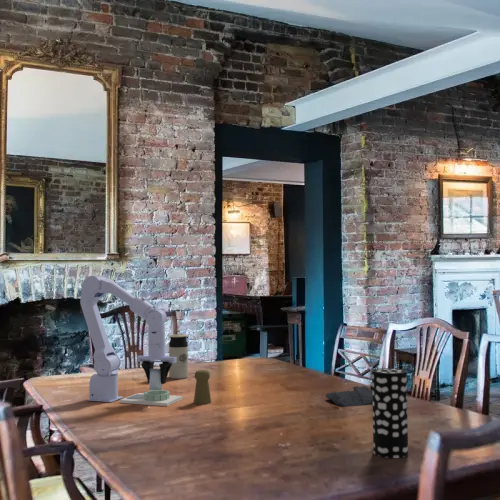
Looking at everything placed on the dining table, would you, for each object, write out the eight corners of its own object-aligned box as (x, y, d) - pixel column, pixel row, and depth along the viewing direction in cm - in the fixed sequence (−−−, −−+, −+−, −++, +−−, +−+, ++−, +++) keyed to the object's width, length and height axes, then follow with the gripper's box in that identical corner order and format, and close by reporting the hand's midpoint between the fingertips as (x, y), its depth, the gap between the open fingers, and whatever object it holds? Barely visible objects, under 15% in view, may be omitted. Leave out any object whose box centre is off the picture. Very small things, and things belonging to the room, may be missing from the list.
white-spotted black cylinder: (369, 448, 152) (367, 368, 153) (401, 447, 153) (400, 367, 153) (379, 458, 144) (377, 374, 144) (413, 457, 144) (411, 373, 145)
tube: (146, 389, 208) (146, 369, 209) (153, 388, 213) (154, 368, 214) (158, 390, 207) (159, 369, 208) (165, 389, 211) (166, 368, 212)
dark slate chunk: (320, 399, 213) (320, 386, 213) (375, 395, 220) (375, 381, 220) (340, 408, 198) (340, 394, 198) (399, 403, 205) (398, 389, 205)
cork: (208, 404, 204) (208, 371, 205) (191, 404, 205) (191, 371, 206) (213, 400, 210) (213, 369, 211) (196, 400, 211) (196, 368, 212)
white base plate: (120, 402, 208) (120, 394, 209) (137, 395, 220) (137, 387, 220) (166, 406, 202) (166, 397, 203) (182, 399, 214) (182, 390, 214)
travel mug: (166, 376, 259) (166, 334, 260) (184, 375, 263) (184, 333, 263) (172, 379, 252) (172, 336, 253) (190, 378, 256) (190, 335, 256)
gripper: (132, 344, 210) (132, 384, 209) (169, 346, 205) (170, 386, 204) (142, 342, 216) (142, 380, 216) (179, 343, 212) (179, 382, 211)
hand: (156, 383), depth 211 cm, fingers closed on tube, 5 cm apart
